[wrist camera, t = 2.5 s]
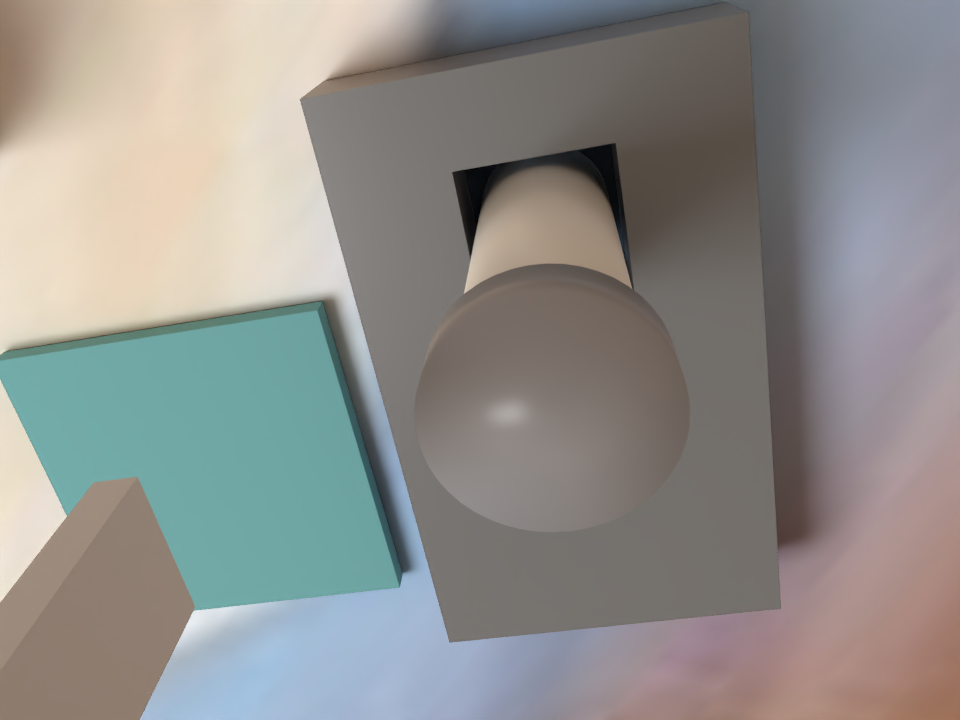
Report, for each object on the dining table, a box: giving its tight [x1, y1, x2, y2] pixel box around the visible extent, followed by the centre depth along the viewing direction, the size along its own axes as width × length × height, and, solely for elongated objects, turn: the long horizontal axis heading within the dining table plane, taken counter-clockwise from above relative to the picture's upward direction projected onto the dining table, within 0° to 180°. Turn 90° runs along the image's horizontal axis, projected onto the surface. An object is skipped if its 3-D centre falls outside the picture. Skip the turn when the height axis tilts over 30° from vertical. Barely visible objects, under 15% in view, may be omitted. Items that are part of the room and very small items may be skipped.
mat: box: [0, 301, 402, 611], centre depth 33 cm, size 12×12×1 cm
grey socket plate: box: [300, 2, 781, 642], centre depth 29 cm, size 20×12×3 cm, turn 11°
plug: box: [414, 150, 690, 532], centre depth 22 cm, size 5×5×14 cm
